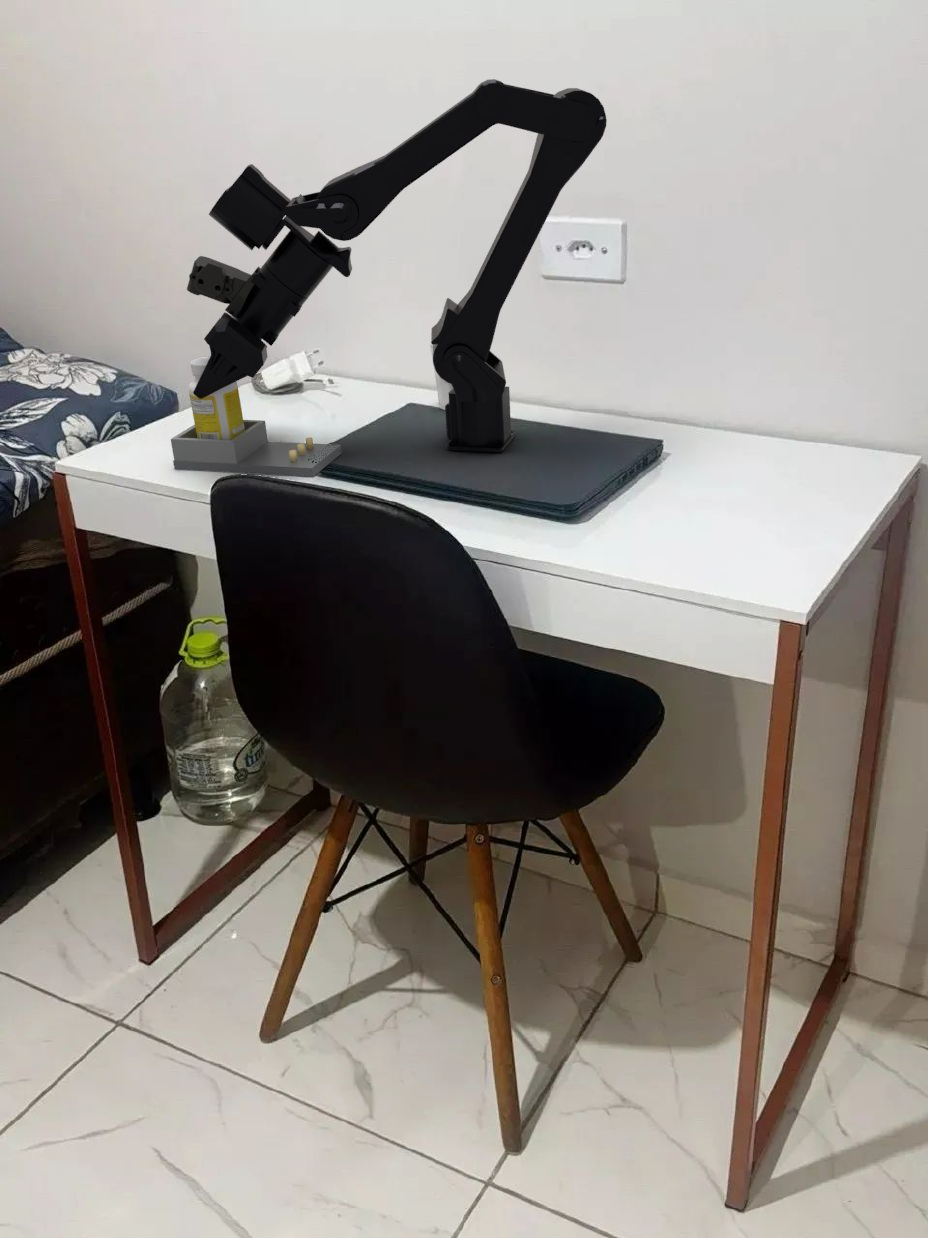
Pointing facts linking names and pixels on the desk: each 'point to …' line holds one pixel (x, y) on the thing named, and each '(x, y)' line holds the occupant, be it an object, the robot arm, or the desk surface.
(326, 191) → the robot arm
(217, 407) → the supplement bottle
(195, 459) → the grey organizer tray
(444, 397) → the milkshake
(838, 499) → the desk surface
